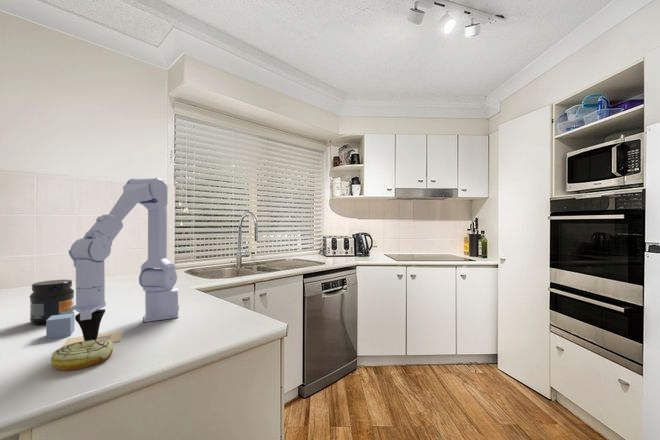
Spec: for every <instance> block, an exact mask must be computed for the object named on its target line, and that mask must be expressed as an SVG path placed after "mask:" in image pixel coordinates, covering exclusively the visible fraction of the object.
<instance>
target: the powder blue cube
mask: <svg viewBox="0 0 660 440" xmlns="http://www.w3.org/2000/svg"><path fill="white" fill-rule="evenodd" d="M45 327H46V328H45V329H46V330H45V331H46V334H45V335H46V336H45V337H46V338H45V339H46V340H51V339H59V338H66V337H71V336H72V335H73V333H75V312H74V313H71V314H62V315H54V316H51V317H50V318H48V319H47V320H46V326H45Z"/></svg>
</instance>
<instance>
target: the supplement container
mask: <svg viewBox="0 0 660 440" xmlns="http://www.w3.org/2000/svg"><path fill="white" fill-rule="evenodd" d="M72 287H73V280H72V279H52V280H44V281H38V282H34V283H32V284H31V291H32V292H31V294H30V295H29V301H30V302H29V308H30V309H29V313H30V315H29V322H30V323H31V324H32V325H36V326H37V325H38V326H39V325H40V326H42V325H46V320H47V319H48V318H50V317H51V316H54V315H62V314H71V313H74V314H75V310H70V307H71V306H73V305H74V302H75V301H74V300H75V299H74V298H75V297H74V295H75V290H74V289H73V288H72Z"/></svg>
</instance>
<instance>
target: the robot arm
mask: <svg viewBox="0 0 660 440" xmlns="http://www.w3.org/2000/svg"><path fill="white" fill-rule="evenodd" d="M122 190H123V192H122V194H121V195H120V197H119V198H118V200H117V201H116V203H115V204H114V205H113V207H112V209H111V210H110V212H109V213H107V214H102V215H101V216H100V215H99V216H97V218H96V219H95V222H94V224H93V225H92V226H91V228H89V230H88V231H86V232H85V233H84V236H83V237H81V238H78V239H76V240H75V241H74V242H73V243H72V244H71V245H70V249H69V250H68V255H69V257H70V259H71V260H72V262H73V267H74V268H75V305H73V306H71V307H70V310H74V311H75V312H78V314H76V315H74V321H76V323H77V324H78V325H79V327H80V330H81V333H82V336H83V337H84V341H88V340H97V336H98V334H99V329H100V325H101V321H102V319H103V316H104V315H105V313H106V308H105V309H103V308H104V307H106V305H107V303H106V300H105V298H106V296H105V294H106V293H105V289H106V288H105V286H106V284H105V283H106V281H105V260H106V259H107V258H108V257H109V256H110V255H111V251H112V250H111V249H112V245H113V241H114V240H115V239H116V237H118V235H119V233H120V232H121V230H122V229H123V227H124V224H123V220H124V219H126V216H127V215H128V214H129V213H131V211H132V210H133V209H134V208H135V207H136V205H137V204H140V205H141V206H143V207H144V208H145V209H147V259H146V261H144V262H143V263H142V264H141V266H140V273H139V275H138V284H139V286H140V287H142V291H144V293H145V295H144V296H145V298H144V299H145V300H144V301H145V302H144V303H145V309H144V313H145V314H144V315H143V322H144V323H147V322H148V323H149V322H155V321H157V322H158V321H161V320H168V319H177V318H179V311H180V304H179V292H178V291H179V290H178V288H177V287H174V286H175V285H176V284H177V281H178V280H177V279H178V274H177V272H176V267H175V266H176V265H175V263H173V262H172V261H171V260H169V259H168V185H167V184H166V182H164V180H163V179H162V178H159V177H154V178H152V177H151V178H130V179H128V180H127V181H126V183H125V184H124V185H123V186H122Z"/></svg>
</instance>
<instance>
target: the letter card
mask: <svg viewBox="0 0 660 440" xmlns="http://www.w3.org/2000/svg"><path fill="white" fill-rule="evenodd" d="M122 335H123V330H117V331H116V330H115V331H111V332H110V331H108V332H102V333H98V336H97V340H101V339H104V340H109V341H111V342H112V343H113V344H114V343H118V342H119V343H120V342H121V338H122ZM65 340H66V341H64V343H63V345H62V346H61V347H64V346H67V345H69V344H73V343H77V342H82V341H84V337H83V335H82V336H75V337H70V338H67V339H65Z"/></svg>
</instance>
